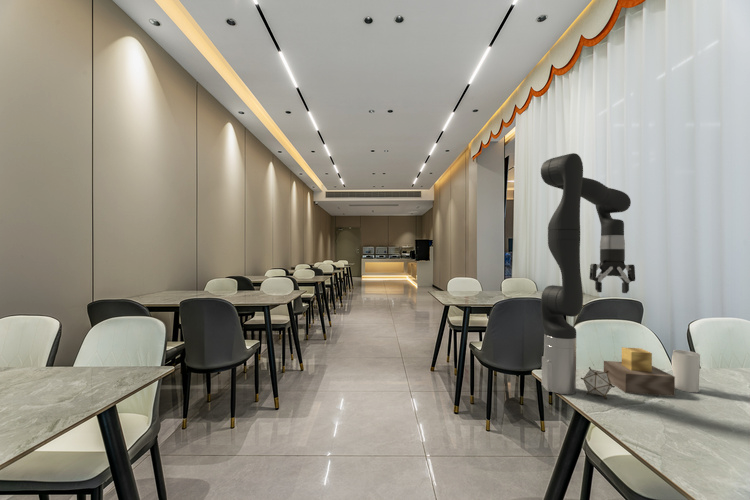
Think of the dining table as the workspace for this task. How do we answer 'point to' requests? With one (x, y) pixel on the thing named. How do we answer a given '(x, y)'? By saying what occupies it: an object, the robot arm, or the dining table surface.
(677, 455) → the dining table surface
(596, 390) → the game die
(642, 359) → the ochre block
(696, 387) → the mug
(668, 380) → the riser
